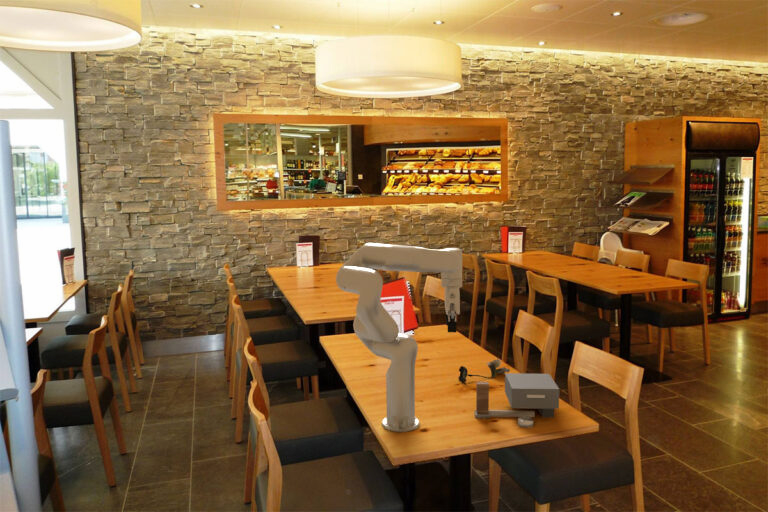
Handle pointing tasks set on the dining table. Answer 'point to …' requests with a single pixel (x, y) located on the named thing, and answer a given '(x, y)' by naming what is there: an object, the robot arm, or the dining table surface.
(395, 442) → the dining table surface
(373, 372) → the dining table surface
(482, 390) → the scraper
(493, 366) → the artificial flower
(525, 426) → the steel puck
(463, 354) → the dining table surface
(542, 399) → the charcoal cabinet
